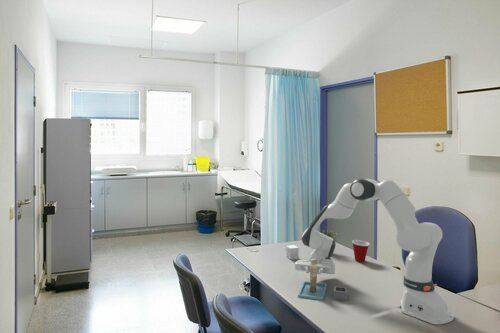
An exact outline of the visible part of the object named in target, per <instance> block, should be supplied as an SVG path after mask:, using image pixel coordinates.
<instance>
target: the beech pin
mask: <svg viewBox="0 0 500 333" xmlns="http://www.w3.org/2000/svg"><path fill="white" fill-rule="evenodd" d="M309 274H310V276H309V282H310V292H316V283H318V281H317V276H318V274H317V259H311V269H310V273H309Z"/></svg>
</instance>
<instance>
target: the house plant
mask: <svg viewBox="0 0 500 333" xmlns="http://www.w3.org/2000/svg"><path fill="white" fill-rule="evenodd" d="M328 230H329V229H327V230H326V231H325V230H324V229H322V232H320V231H319V232H320V233H323V234H324V235H327V236H329V237H331V238H332V239H334V241H335V242H338V240H337V239H336V238H338V237H336V236H337V235H338V234H339V231H338V232H334V234H333V229H330V232H329V231H328Z"/></svg>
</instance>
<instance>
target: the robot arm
mask: <svg viewBox="0 0 500 333" xmlns="http://www.w3.org/2000/svg"><path fill="white" fill-rule="evenodd" d="M359 201H365V202H376V201H377V202H378V201H380V203H381V204H382V205H383V207H384V208H385V210H386V211H387V212H388V214H389V216H390V217H391V219H392V221H393V223H394V225H395V227H396V228H395V229H396V232H397V234H396V243H397V245H398V246H399V248H401V249H402V250H404V251H407V252H409V254H408V255H407V256H406V258H405V262H404V263H405V264H404V266H405V267H404V268H405V269H404V271H405V272H404V275H403V290H402V291H403V293H402V297H401V300H400V303H399V304H400V305H399V307H400V312H401V313H402V314H406V315H408V316H410V317H413V318H415V319H419V320H422V321H424V322H427V323H429V324H432V325H445V324H448V323H450V322H452V321H454V314H453V313H451V312H449V307H448V303H447V301H446V300H445V299H444V298H443V296H441V295H440V294H439V293H438V292H437V290H436V287H437V285H438V284H437V283H435V284H434V280H432V278H433V277H432V273H433V263H434V258H435V255H436V252H437V248H438V245H439V244H440V242H441V240H442V239H443V236H444V235H443V234H444V233H443V230H442V228H441V227H440V226H439V225H438V224H436V223H434V222H427V221H425V222H424V221H423V222H420V223H419V221H418V219H417V218H416V214H415V213H416V207H415V206H414V204H413V203H412V201H411V200H410V199H409V197H408V196H407V195H406V193H405V192H404V191H403V189H402V188H401V187H400V186H399V185H398V184H397V183H396V182H395V181H394V180H392V179H383V180H382V181H380V180H377V179H376V180H375V179H371V178H358V179H356V180H354V181H352V182H347V183H345V184H344V185H342V187H341V188H340V190H339V192H337V195H336V197H335V199H334V200H333V201H332V202H331V203H330V204H326V205H324V206H323V207H322V208H321V210H320V211H319V213H318V214H317V215H316V216H315V218H314V219H313V221H312V222H311V223H310V225H309V227H308V228H306V229H305V230H304V231H303V233H302V235H301V239H300V240H301V242H302V244H303V245H304V246H306V247H308V248H311V249H313V250H312V252H311V253H310V256H309V258H308V260H307V259H297V261H296V262H295V263H294V270H295V271H297V272H298V271H300V272H306V274H310V269H311V259H317V275H321V274H328V275H334V274H335V272H336V266H335V265H336V264H335V262H334V259H333V258H331V257H332V256H333V255H334V253H335V249H336V241H334V238H331V237H332V236H331V237H329V236H327V234H326V235H324V233H323V232H321V233H320V231H318V230H317V229H318V228H319V226H320V225H321V224H322V222H323V221H324V220H326V219H336V220H343V219H344V220H345V219H347V218H349V217H351V215H352V214H353V212H354V211H355V209H356V207H357V205H358V203H359Z"/></svg>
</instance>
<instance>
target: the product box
mask: <svg viewBox="0 0 500 333" xmlns="http://www.w3.org/2000/svg"><path fill="white" fill-rule="evenodd" d="M285 249H286V250H285V252H286V253H285V257H286V258H287V259H288V260H299V256H300V255H299V254H300V251H299V249H300V248H299V246H297V245H295V244H293V245H291V244H290V245H286V247H285Z"/></svg>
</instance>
